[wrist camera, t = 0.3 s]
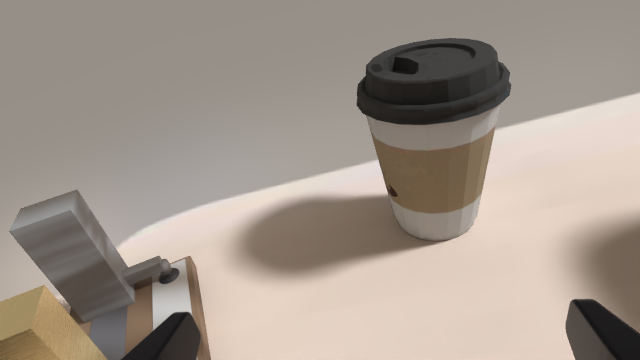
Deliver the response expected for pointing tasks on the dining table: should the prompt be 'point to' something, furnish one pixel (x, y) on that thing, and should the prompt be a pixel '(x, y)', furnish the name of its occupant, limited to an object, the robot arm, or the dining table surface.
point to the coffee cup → (434, 129)
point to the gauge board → (106, 277)
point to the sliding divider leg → (42, 330)
